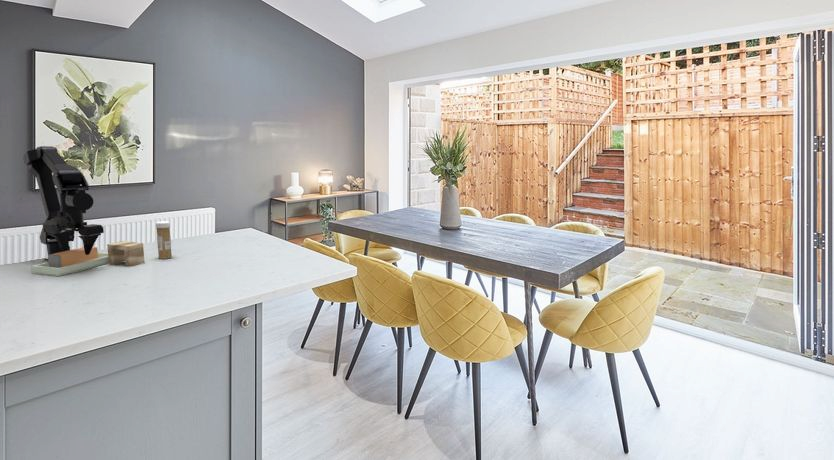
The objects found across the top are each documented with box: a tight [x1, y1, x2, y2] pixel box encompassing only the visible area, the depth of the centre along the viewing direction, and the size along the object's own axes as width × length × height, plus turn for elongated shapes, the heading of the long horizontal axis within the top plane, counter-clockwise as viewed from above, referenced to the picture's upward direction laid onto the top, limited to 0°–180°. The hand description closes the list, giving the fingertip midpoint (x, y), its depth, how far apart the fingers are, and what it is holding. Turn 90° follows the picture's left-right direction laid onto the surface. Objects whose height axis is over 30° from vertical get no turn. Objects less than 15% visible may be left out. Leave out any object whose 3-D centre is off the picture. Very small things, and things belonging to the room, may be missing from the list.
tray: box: [30, 252, 109, 277], centre depth 155 cm, size 11×22×2 cm, turn 167°
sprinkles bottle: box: [155, 220, 173, 260], centre depth 170 cm, size 5×5×14 cm
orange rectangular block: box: [47, 246, 98, 268], centre depth 154 cm, size 4×14×5 cm, turn 167°
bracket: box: [106, 240, 145, 267], centre depth 161 cm, size 9×6×7 cm, turn 77°
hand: (76, 253), depth 155 cm, fingers open, 9 cm apart
